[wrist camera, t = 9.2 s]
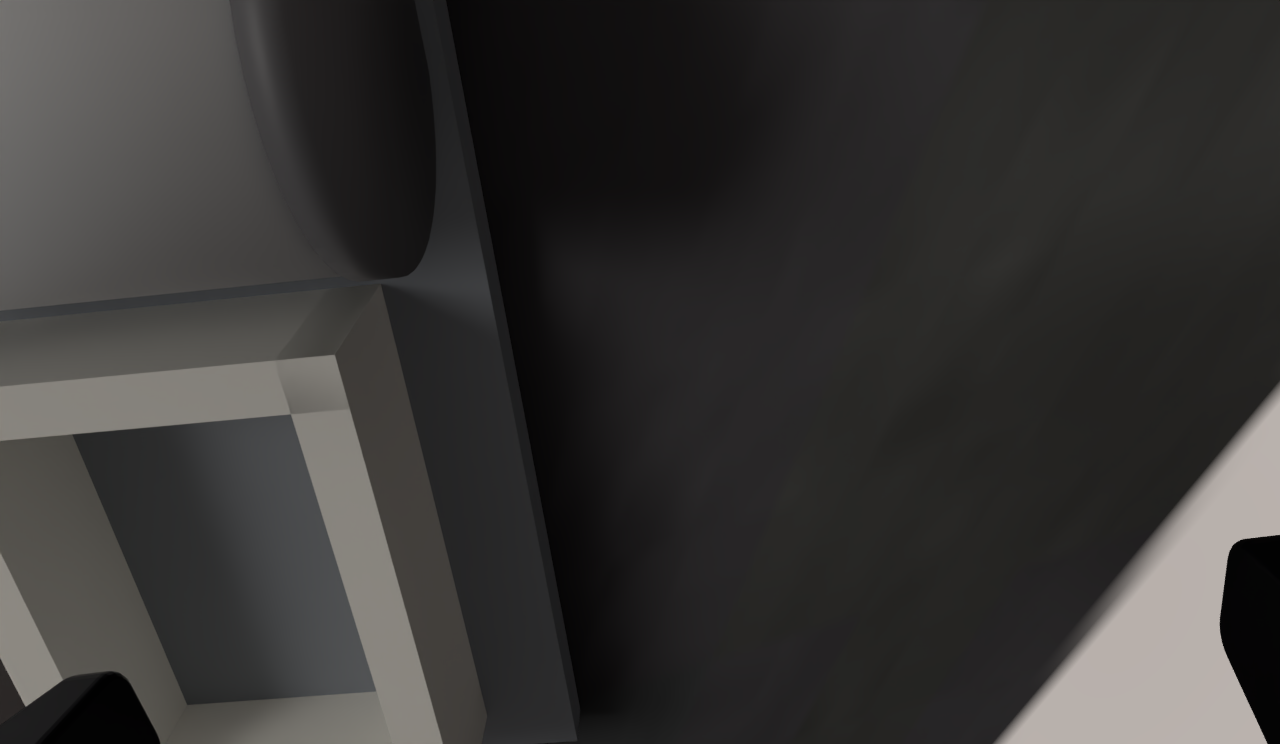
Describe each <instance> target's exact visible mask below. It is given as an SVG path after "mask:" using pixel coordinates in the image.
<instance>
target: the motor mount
mask: <svg viewBox="0 0 1280 744" xmlns="http://www.w3.org/2000/svg"><path fill="white" fill-rule="evenodd" d="M0 658H1V660H2V662H3V664H4V666H5V668H6V670H7V672H8V674H9V676H10V678H11V679H12V681H13V683H14V685H15V687H16V689H17V691H18V693H19V695H20V697H21V699H22V701H23V702H24V704H25V706H28V705H29V704H30V703H32V702H33V701H35V700H36V699H37V698H39V697H40V696H41V695H43V694H44V693H46V692H47V691H48V690H50V689H51V688H53V687H54V686H55V685H57V684H58V683H59V682H61V681H62V680H64V679H66V678H68V677H71V676H74V675H79V674H87V673H96V672H105V671H114V672H119V673H121V674H122V675H123V676H125V677H126V678H127V679H128V680H129V682H130V683H131V685H132V687H133V689H134V691H135V693H136V695H137V697H138V698H139V700H140V702H141V704H142V706H143V708H144V710H145V712H146V713H147V715H148V717H149V719H150V721H151V723H152V725H153V727H154V729H155V730H156V732H157V734H158V737H159V739H160V744H538V743H553V742H568V741H577V740H578V729H579V719H580V705H579V699H578V694H577V689H576V684H575V678H574V673H573V668H572V663H571V657H570V652H569V647H568V641H567V636H566V631H565V626H564V620H563V615H562V610H561V605H560V599H559V594H558V589H557V583H556V578H555V573H554V568H553V562H552V557H551V552H550V546H549V541H548V536H547V531H546V525H545V520H544V515H543V510H542V504H541V499H540V494H539V488H538V483H537V478H536V473H535V467H534V462H533V457H532V452H531V446H530V441H529V436H528V430H527V425H526V420H525V415H524V409H523V404H522V399H521V393H520V388H519V383H518V378H517V372H516V367H515V362H514V357H513V351H512V346H511V341H510V335H509V330H508V325H507V320H506V314H505V309H504V304H503V299H502V293H501V288H500V283H499V277H498V272H497V267H496V262H495V256H494V251H493V246H492V241H491V235H490V230H489V225H488V219H487V214H486V209H485V204H484V198H483V193H482V188H481V182H480V177H479V172H478V167H477V161H476V156H475V151H474V146H473V140H472V135H471V130H470V124H469V119H468V114H467V109H466V103H465V98H464V93H463V88H462V82H461V77H460V72H459V66H458V61H457V56H456V51H455V45H454V40H453V35H452V29H451V24H450V19H449V14H448V8H447V3H446V0H0Z"/></svg>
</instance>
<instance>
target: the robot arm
mask: <svg viewBox="0 0 1280 744" xmlns="http://www.w3.org/2000/svg"><path fill="white" fill-rule="evenodd" d="M1220 633H1221V639H1222V643H1223V646H1224V649H1225V652H1226V654H1227V657H1228V659H1229V661H1230V663H1231V666H1232V668H1233V670H1234V672H1235V674H1236V677H1237V679H1238V681H1239V683H1240V685H1241V687H1242V689H1243V692H1244V694H1245V696H1246V698H1247V700H1248V702H1249V704H1250V707H1251V709H1252V711H1253V713H1254V715H1255V718H1256V719H1257V722H1258V724H1259V726H1260V728H1261V731H1262V733H1263V735H1264V737H1265V739H1266V741H1267V744H1280V535H1275V536H1267V537H1258V538H1250V539H1243V540H1240V541H1238V542H1236V543H1235V544H1234V545H1233V546H1232V548H1231V550H1230V552H1229V556H1228V560H1227V568H1226V576H1225V585H1224V592H1223V600H1222V608H1221V615H1220ZM0 744H160V739H159V737H158V734H157V732H156V730H155V729H154V727H153V725H152V723H151V721H150V719H149V717H148V715H147V713H146V712H145V710H144V708H143V706H142V704H141V702H140V700H139V698H138V697H137V695H136V693H135V691H134V689H133V687H132V685H131V683H130V682H129V680H128V679H127V678H126V677H125V676H123V675H122V674H121V673H119V672H114V671H105V672H96V673H87V674H79V675H74V676H71V677H68V678H66V679H64V680H62V681H61V682H59V683H58V684H57V685H55V686H54V687H53V688H51V689H50V690H48V691H47V692H46V693H44V694H43V695H41V696H40V697H39V698H37V699H36V700H35V701H33V702H32V703H30V704H29V705H28V706H26V707H25V708H23V709H22V710H21V711H19V712H18V713H16V714H15V715H14V716H12V717H11V718H10V719H8V720H7V721H5V722H4V723H3V724H1V725H0Z"/></svg>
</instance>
